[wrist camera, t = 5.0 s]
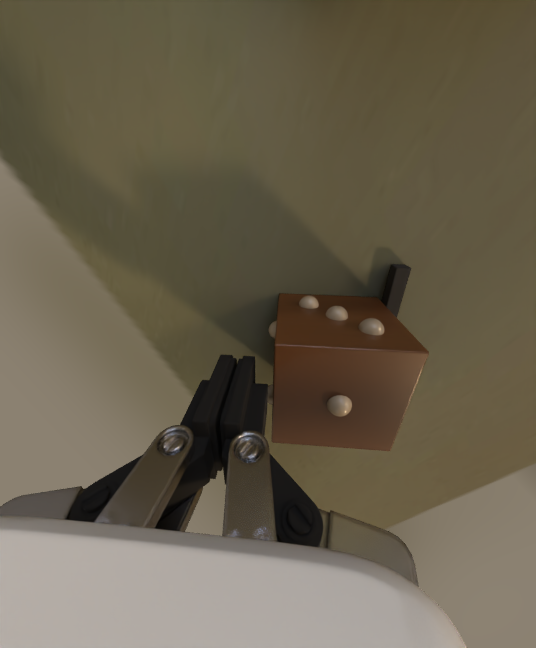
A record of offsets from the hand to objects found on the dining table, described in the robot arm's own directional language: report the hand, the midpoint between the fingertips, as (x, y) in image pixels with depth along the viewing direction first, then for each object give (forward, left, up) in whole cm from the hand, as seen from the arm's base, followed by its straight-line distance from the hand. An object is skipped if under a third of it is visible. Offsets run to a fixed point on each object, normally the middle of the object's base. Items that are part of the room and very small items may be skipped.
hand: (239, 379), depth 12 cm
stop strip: (0, +8, -5) cm, 10 cm away
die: (0, +5, -5) cm, 7 cm away
